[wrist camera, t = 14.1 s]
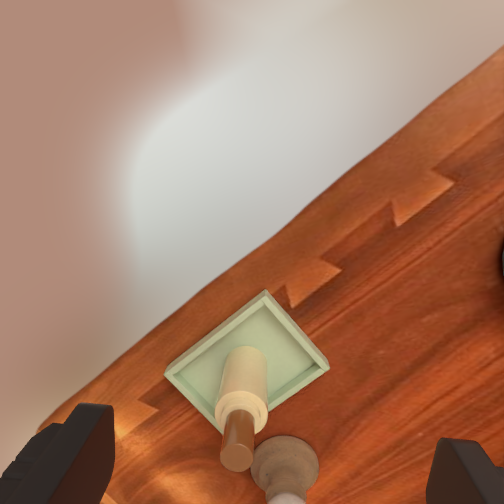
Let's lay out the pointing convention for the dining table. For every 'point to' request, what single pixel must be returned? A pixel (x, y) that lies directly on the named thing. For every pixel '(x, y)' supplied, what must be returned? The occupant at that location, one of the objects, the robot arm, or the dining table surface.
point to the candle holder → (284, 469)
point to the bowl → (503, 261)
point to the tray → (255, 335)
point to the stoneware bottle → (242, 405)
